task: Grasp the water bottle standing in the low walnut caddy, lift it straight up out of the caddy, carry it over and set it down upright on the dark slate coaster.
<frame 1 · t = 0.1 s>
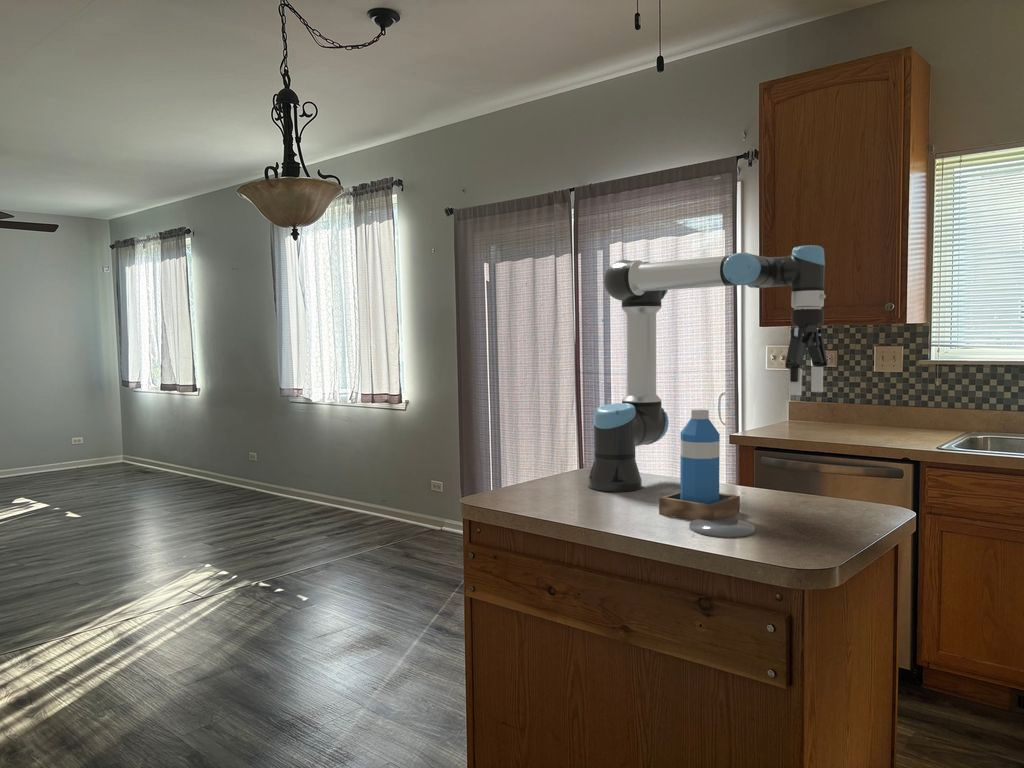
hand: (806, 393, 184), 28 cm above the worktop, fingers open, 13 cm apart
coaster: (721, 529, 162), on the worktop
water bottle: (699, 514, 177), resting in caddy
caddy: (699, 513, 177), on the worktop
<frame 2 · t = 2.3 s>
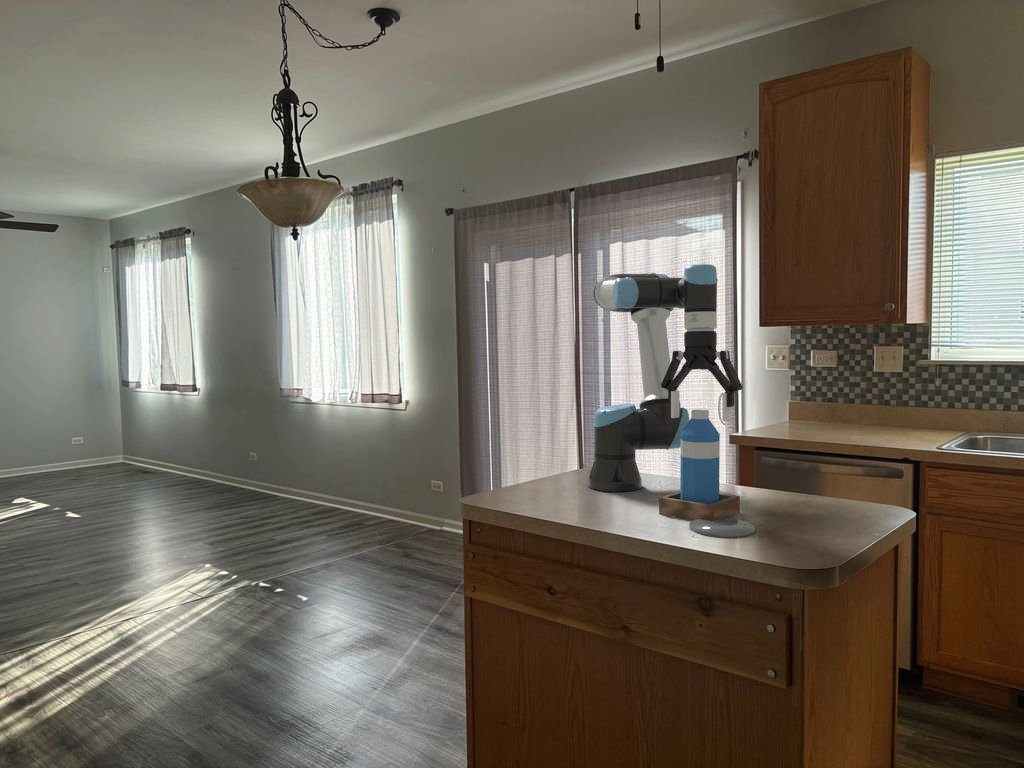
hand: (700, 419, 175), 23 cm above the worktop, fingers open, 13 cm apart
nothing on the worktop moved.
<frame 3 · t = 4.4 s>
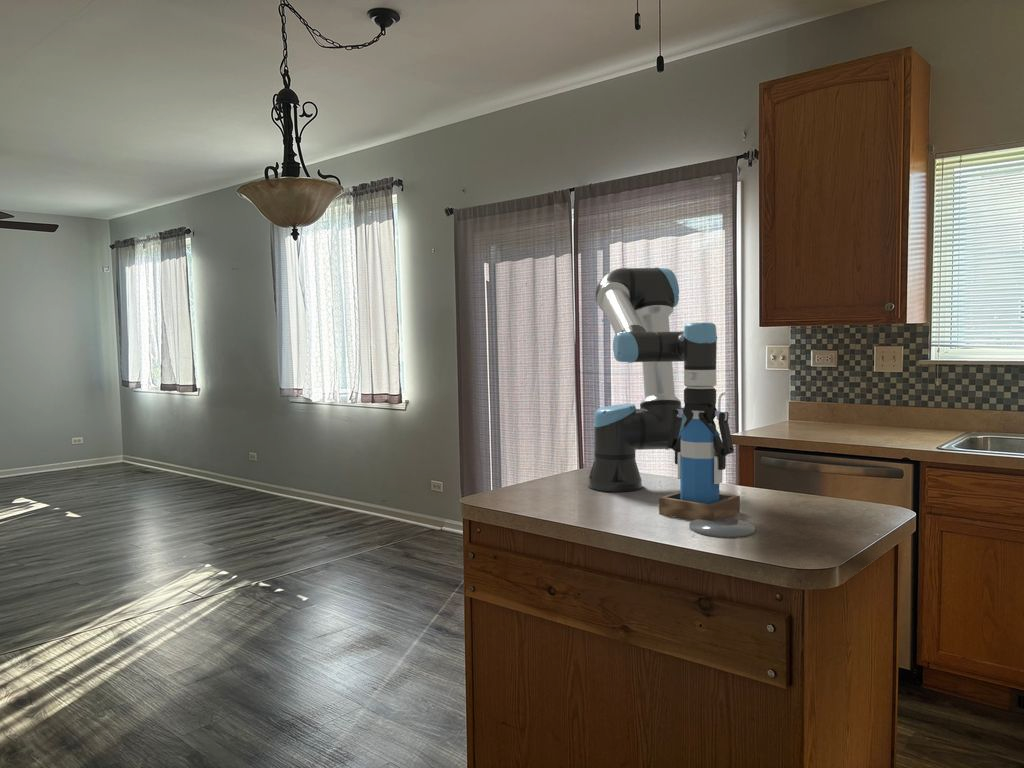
hand: (699, 480, 176), 8 cm above the worktop, fingers closed on water bottle, 9 cm apart
water bottle: (699, 514, 177), resting in caddy, touching gripper
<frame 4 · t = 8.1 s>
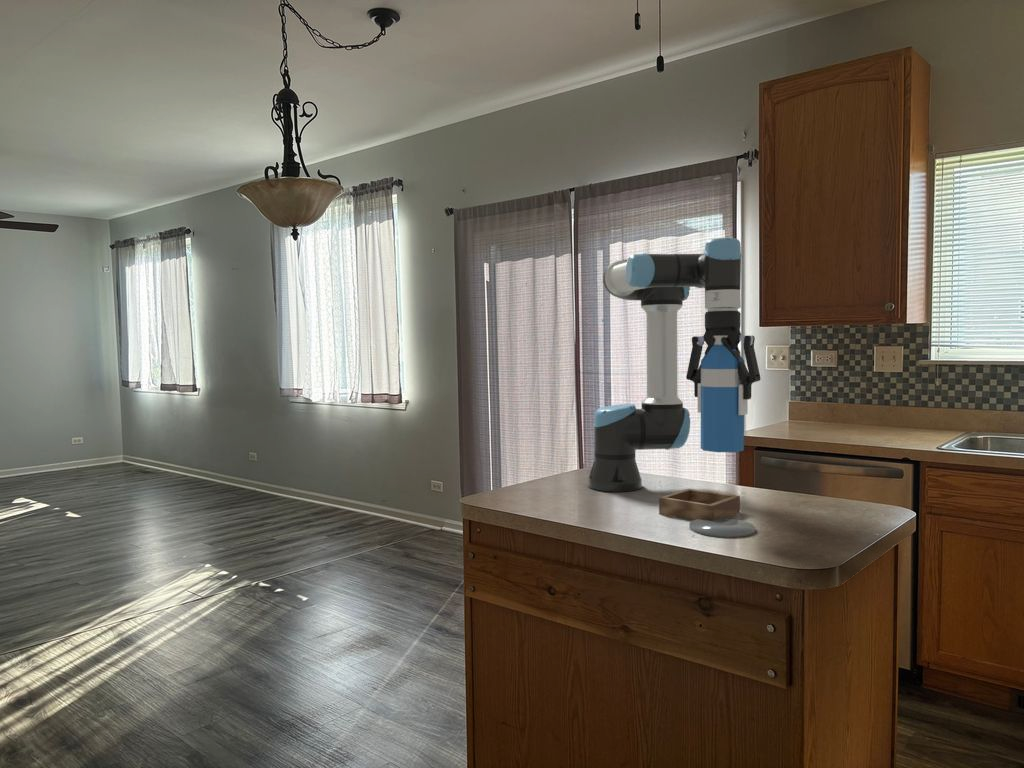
hand: (722, 413, 161), 26 cm above the worktop, fingers closed on water bottle, 9 cm apart
water bottle: (721, 450, 161), point 18 cm above the worktop, touching gripper
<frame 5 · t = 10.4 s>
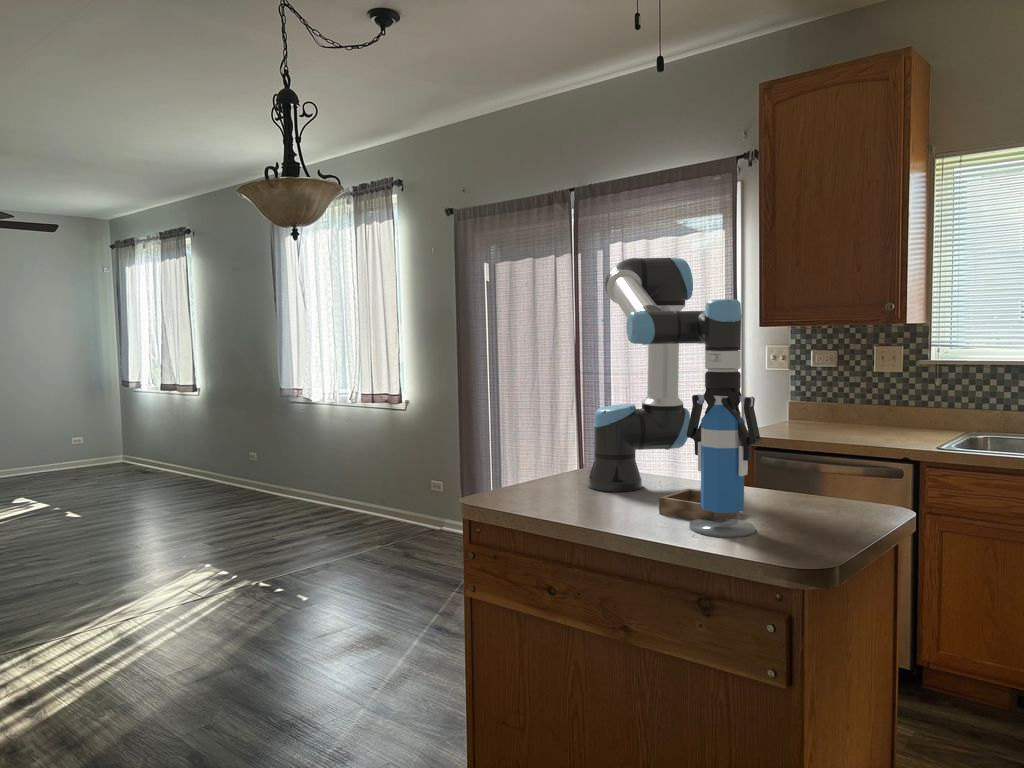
hand: (722, 472, 161), 13 cm above the worktop, fingers closed on water bottle, 9 cm apart
water bottle: (722, 509, 162), point 4 cm above the worktop, touching gripper
when the fingers open (10 cm above the worktop, at t = 12.0 s): water bottle drops 1 cm, resting on coaster.
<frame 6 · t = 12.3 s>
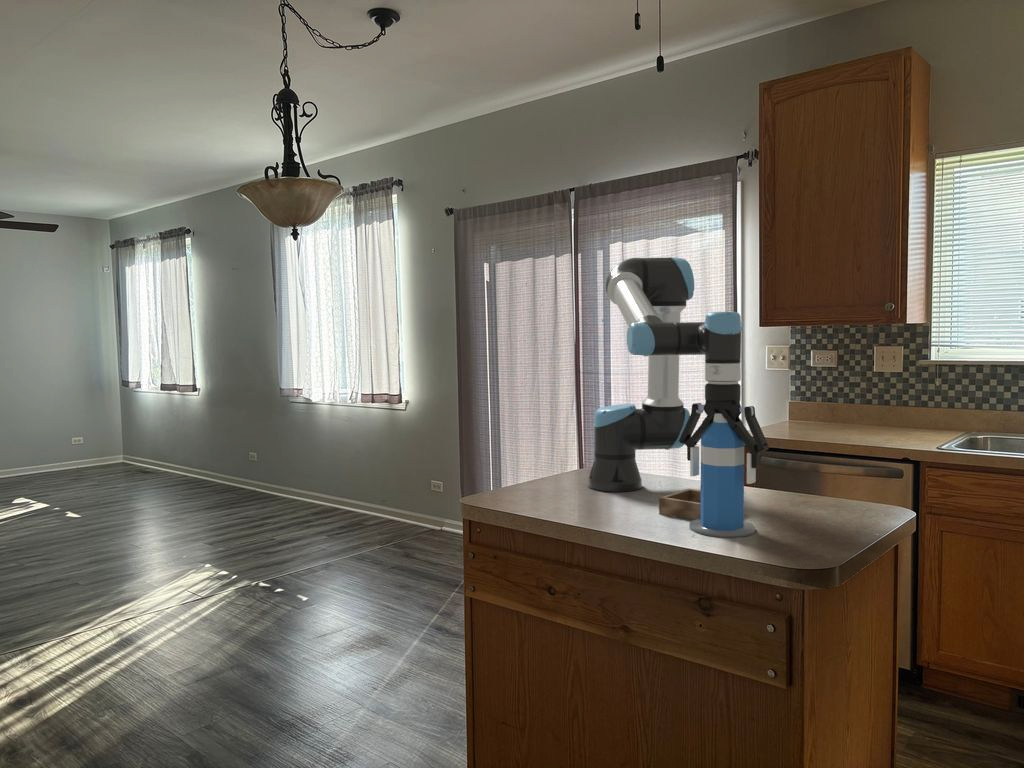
hand: (722, 479, 161), 11 cm above the worktop, fingers open, 13 cm apart
water bottle: (721, 526, 162), point 1 cm above the worktop, touching coaster
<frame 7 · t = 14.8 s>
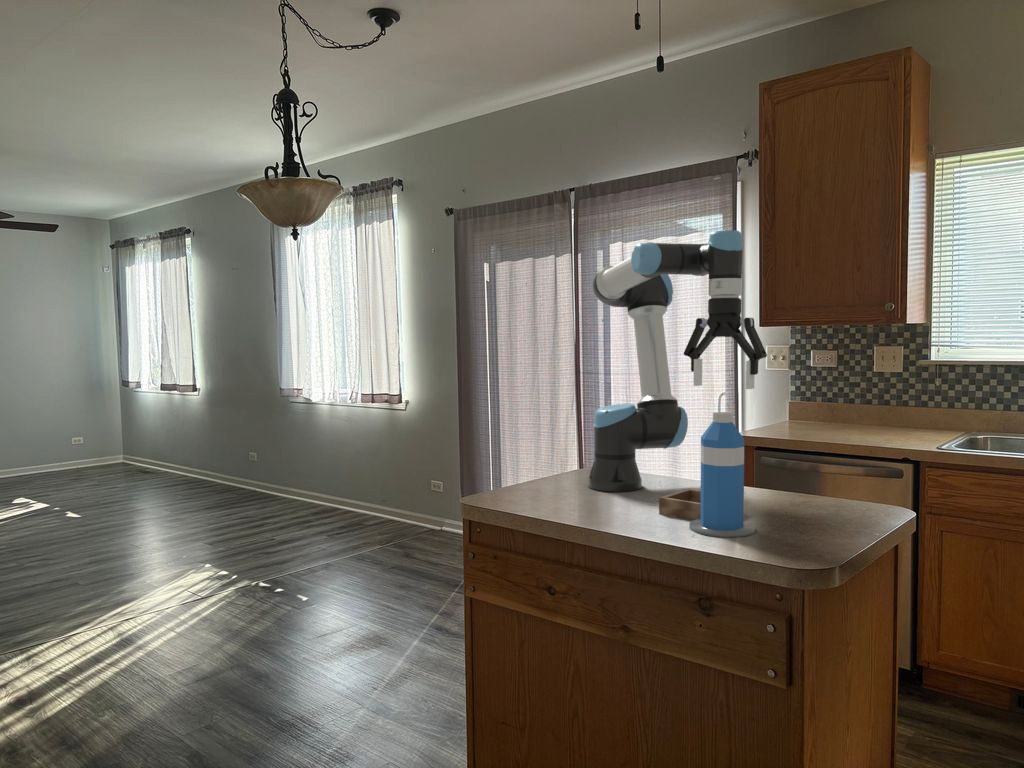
hand: (723, 387, 174), 30 cm above the worktop, fingers open, 13 cm apart
nothing on the worktop moved.
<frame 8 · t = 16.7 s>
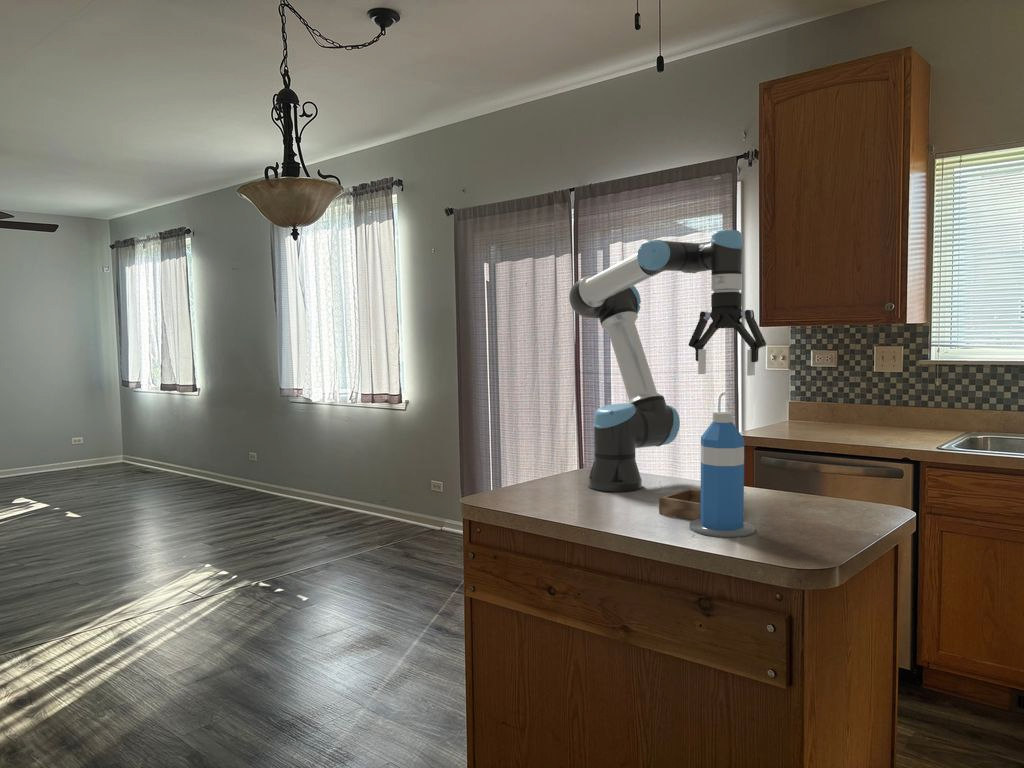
hand: (725, 374, 188), 33 cm above the worktop, fingers open, 13 cm apart
nothing on the worktop moved.
at the end: water bottle 0.1 cm from the coaster (horizontally); water bottle tilted 0°; water bottle point 0.6 cm above the worktop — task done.
